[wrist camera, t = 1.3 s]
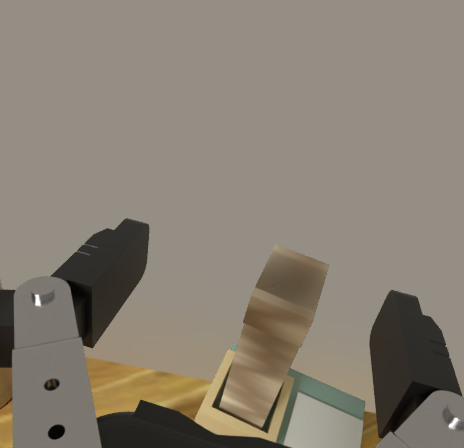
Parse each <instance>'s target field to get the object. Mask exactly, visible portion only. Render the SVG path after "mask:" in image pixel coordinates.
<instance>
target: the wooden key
mask: <svg viewBox="0 0 464 448" xmlns="http://www.w3.org/2000/svg"><path fill="white" fill-rule="evenodd" d="M328 268H329V264H326V263H323V262H321V261H318V260H316V259H313V258H310V257H308V256H305V255H302V254H300V253H297V252H295V251H292V250H290V249H286V248H284V247H282V246H279V245H275V247H274V249H273V251H272V253H271V255H270V258H269V260H268V262H267V264H266V266H265V268H264V270H263V272H262V274H261V276H260V278H259V280H258V282H257V284H256V287H255V289H254V290H253V293H252V295H251V298H250V301H249V304H248V308H247V311H246V314H245V318H244V321H243V323H244V326H243V329H242V332H241V336H240V339H239V343H238V346H237V349H236V352H235V356H234V359H233V362H232V366H231V369H230V372H229V376H228V379H227V382H226V386H225V389H224V392H223V396H222V399H221V402H220V406H219V409H218V410H219V411H221V412H223V413H225V414H228V415H230V416H232V417H234V418H236V419H238V420H240V421H242V422H244V423H246V424H249V425H251V426H253V427H255V428H257V429H259V430H261V429H262V427H263V425H264V422H265V420H266V418H267V416H268V414H269V412H270V409H271V407H272V405H273V403H274V401H275V399H276V396H277V394H278V392H279V390H280V388H281V386H282V383H283V381H284V379H285V377H286V375H287V373H288V371H289V368H290V366H291V364H292V362H293V360H294V357H295V355H296V353H297V351H298V349H299V347H301V345H302V343H303V341H304V339H305V337H306V335H307V333H308V330H309V328H310V326H311V324H312V322H313V319H314V315H315V312H316V309H317V305H318V302H319V299H320V295H321V292H322V288H323V285H324V281H325V278H326V275H327V271H328Z"/></svg>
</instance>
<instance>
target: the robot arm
mask: <svg viewBox="0 0 464 448" xmlns="http://www.w3.org/2000/svg"><path fill="white" fill-rule="evenodd" d="M148 241H149V225H148V224H146V223H143V222H139V221H135V220H131V219H128V218H127V219H125V220H124V221H123V222H122V223H121V224H120V225H119V226H118V227H117V228H116V229H115V230H111V229H108V228H107V229H105V230H103V231H100V232H98V233H96V234H94V235H93V236H92V237H91V238H90V239H89V240H87V241H86V243H85V245H82V246H81V247H80V248H79V249H78V250H77V252H75V253H74V254H73V255H72V256H71V257H70V258H69V259H68V260H67V261H66V262H65V263H64V264H63V265H62V266H61V267H60V268H59V269H58V270H56V271H55V272H54V273H53V274H52V275H51V276H50V277H38V278H34V279H31V280H28V281H26V282H24V283H23V284H21V285H20V286H19V287H18V288H17V290H3V288H2V285H1V281H0V408H1V407H3V406H4V405H5V404H6V403H7V402H8V401H9V400H10V399H11V398H12V397H13V448H291V447H288V446H285V445H282V444H279V443H275V442H272V441H269V440H266V439H263V438H260V437H246V436H230V435H217V434H214V433H212V432H210V431H209V430H207V429H206V428H204V427H202V426H201V425H199V424H197V423H196V422H194V421H193V420H191V419H189V418H188V417H186V416H185V415H183V414H181V413H180V412H178V411H175V410H171V409H168V408H165V407H162V406H159V405H156V404H153V403H149V402H146V401H143V400H140V402H139V404H138V406H137V408H136V411H135V412H118V413H112V414H107V415H104V416H101V417H98V418H96V414H95V408H94V403H93V397H92V392H91V387H90V381H89V376H88V370H87V365H86V359H85V354H84V349H83V346H87V347H90V348H93V347H94V346H95V344H96V343H97V341H98V340H99V338H100V337H101V336H102V334H103V333H104V331H105V330H106V328H107V327H108V326H109V324H110V323H111V321H112V320H113V318H114V317H115V316H116V314H117V313H118V311H119V310H120V308H121V307H122V305H123V304H124V303H125V301H126V300H127V298H128V297H129V296H130V294H131V293H132V291H133V290H134V288H135V287H136V285H137V284H138V283H139V281H140V280H141V278H142V276H143V274H144V271H145V268H146V264H147V253H148ZM445 345H446V343H445V340H444V337H443V334H442V331H441V330H440V328H439V327H438V326H437V325H436V323H435V322H434V321H433V319H432V318H431V317H429V316H425V315H422V312H421V308H420V304H419V301H418V298H417V297H416V296H412V295H409V294H405V293H401V292H398V291H394V290H391V291H390V292H389V294H388V295H387V298H386V299H385V301H384V304H383V306H382V308H381V310H380V312H379V314H378V316H377V318H376V320H375V323H374V325H373V327H372V330H371V335H370V353H371V364H372V373H373V384H374V395H375V405H376V415H377V426H378V436H379V438H382V440H381V441H380V442H379V443H378V444H377V445H376V446H375V447H374V448H464V398H463V397H462V393H461V391H460V387H459V384H458V381H457V378H456V375H455V371H454V368H453V365H452V362H451V359H450V358H449V353H448V350H447V347H445Z"/></svg>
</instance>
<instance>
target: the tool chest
mask: <svg viewBox="0 0 464 448" xmlns="http://www.w3.org/2000/svg"><path fill="white" fill-rule="evenodd" d="M237 346H238V345H236V344H233V346H232V348H231V350H230V349H228V351H227V353H226V355H225V357H224V359H223V361H222V364H221V366H220V368H219V370H218V372H217V374H216V376H215V378H214V380H213V382H212V384H211V386H210V388H209V390H208V392H207V394H206V396H205V398H204V400H203V402H202V405H201V407H200V409H199V411H198V413H197V415H196V417H195V421H194V422H196V423H197V424H199V425H201V426H202V427H204V428H206V429H207V430H209V431H210V432H212V433H214V434H217V435H230V436H246V437H260V438H263V439H266V440H269V441H272V442H275V443H279V444H282V445H285V446H288V447H291V448H360V446H361V438H362V430H363V422H364V421H363V416H364V408H365V401H363V400H360V399H358V398H356V397H354V396H351V395H349V394H347V393H344V392H342V391H340V390H338V389H336V388H333V387H331V386H329V385H327V384H324V383H322V382H320V381H317V380H315V379H313V378H311V377H308V376H306V375H304V374H302V373H299V372H297V371H295V370H293V369H290V368H289V371H288V373H287V375H286V377H285V379H284V381H283V383H282V386H281V388H280V390H279V392H278V394H277V396H276V399H275V401H274V403H273V405H272V407H271V409H270V412H269V414H268V416H267V418H266V420H265V422H264V425H263V427H262V429H261V430H259V429H257V428H255V427H253V426H251V425H249V424H246V423H244V422H242V421H240V420H238V419H236V418H234V417H232V416H230V415H228V414H225V413H223V412H221V411H219V410H218V409H219V406H220V402H221V399H222V396H223V392H224V389H225V386H226V382H227V379H228V376H229V372H230V369H231V366H232V362H233V359H234V356H235V352H236V349H237Z"/></svg>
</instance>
